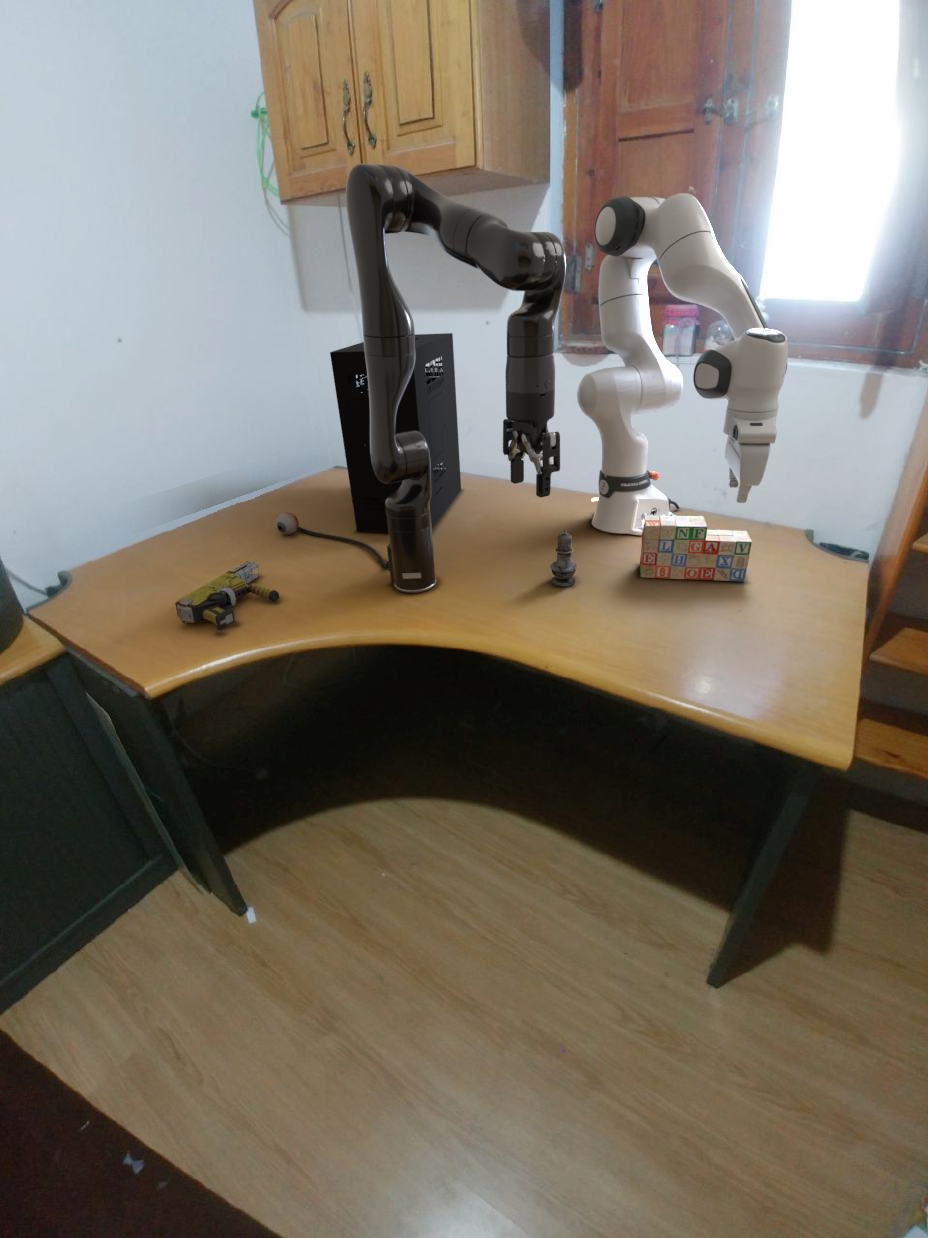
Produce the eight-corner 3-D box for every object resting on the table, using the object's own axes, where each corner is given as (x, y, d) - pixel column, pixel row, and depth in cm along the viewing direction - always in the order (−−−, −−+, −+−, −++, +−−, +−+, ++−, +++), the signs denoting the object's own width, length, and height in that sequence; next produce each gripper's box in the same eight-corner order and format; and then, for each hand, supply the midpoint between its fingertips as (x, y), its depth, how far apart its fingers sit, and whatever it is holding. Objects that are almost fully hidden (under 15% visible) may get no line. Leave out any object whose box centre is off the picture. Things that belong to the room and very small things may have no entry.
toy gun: (300, 570, 137) (245, 558, 141) (232, 617, 117) (169, 602, 121) (302, 588, 139) (247, 576, 143) (235, 638, 119) (173, 622, 123)
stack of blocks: (739, 570, 133) (750, 516, 126) (744, 582, 127) (755, 528, 121) (638, 565, 137) (644, 514, 131) (639, 577, 132) (645, 524, 126)
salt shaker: (576, 587, 129) (578, 535, 123) (548, 586, 130) (549, 534, 124) (577, 575, 134) (579, 524, 128) (550, 574, 135) (551, 523, 129)
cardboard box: (428, 534, 159) (412, 349, 137) (356, 531, 164) (329, 352, 141) (461, 489, 191) (452, 333, 168) (400, 488, 195) (384, 335, 173)
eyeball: (273, 537, 164) (268, 516, 161) (287, 528, 169) (282, 508, 166) (291, 539, 161) (286, 518, 158) (305, 530, 166) (301, 510, 163)
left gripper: (487, 383, 97) (490, 482, 105) (532, 395, 85) (532, 505, 93) (528, 377, 99) (528, 474, 107) (577, 389, 88) (572, 496, 96)
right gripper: (723, 412, 124) (713, 478, 131) (740, 436, 107) (727, 510, 114) (756, 411, 123) (744, 478, 130) (779, 436, 106) (763, 511, 113)
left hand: (529, 489), depth 100 cm, fingers open, 8 cm apart
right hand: (736, 493), depth 122 cm, fingers open, 8 cm apart
